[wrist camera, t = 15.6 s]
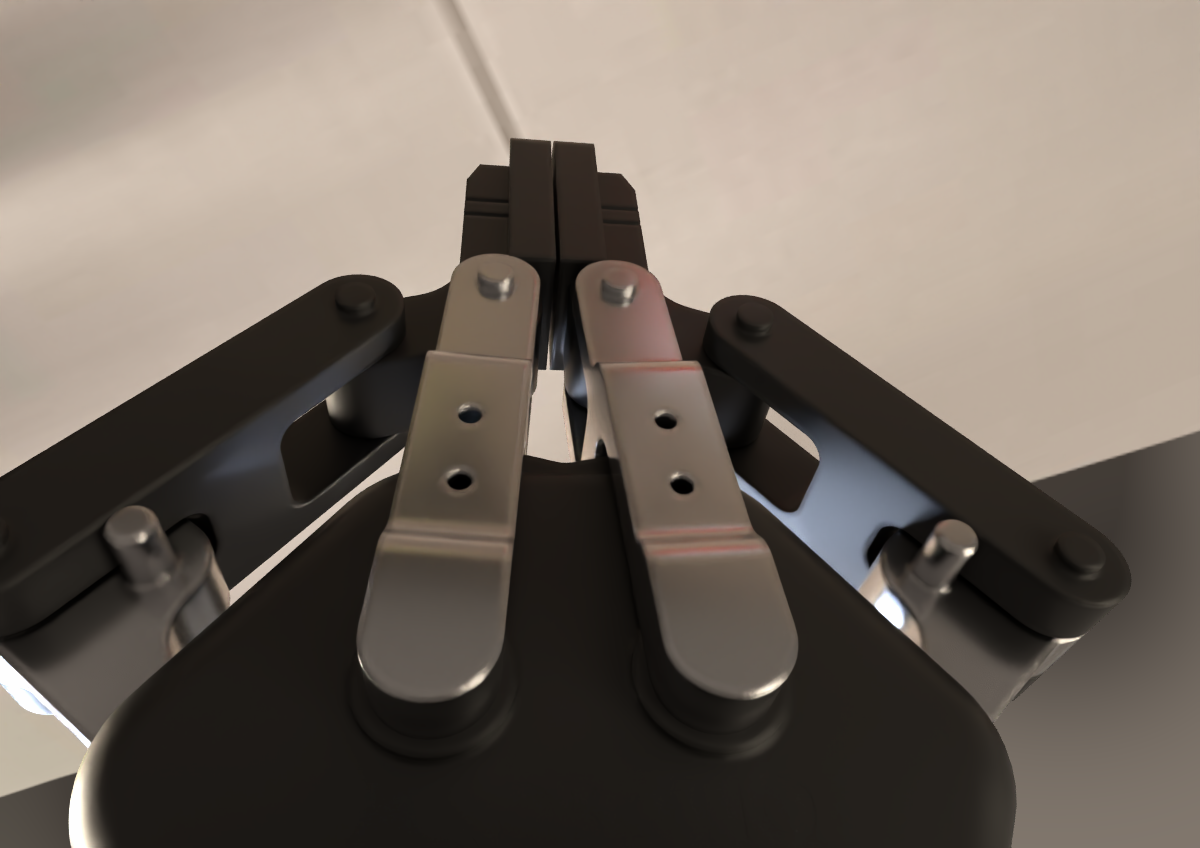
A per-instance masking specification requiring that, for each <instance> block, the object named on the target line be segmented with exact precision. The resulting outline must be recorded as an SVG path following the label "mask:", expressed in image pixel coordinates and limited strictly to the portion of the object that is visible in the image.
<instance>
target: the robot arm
mask: <svg viewBox="0 0 1200 848" xmlns="http://www.w3.org/2000/svg"><path fill="white" fill-rule="evenodd" d="M548 343H549V354H550V370H564V389H563V398H562V410H563V417H564V424H565V430H566V437H567V444H568V451H569V457H570V463H560V462H555V461H550V460H546V459H542V458H537V457H533V456H528V455H527V446H528V435H529V425H530V414H531V403H532V395H533V393H534V392H535V389H536V386H537V375H538V370H546V366H547V354H548ZM324 399H325V400H324ZM323 400H324V401H323ZM321 401H323V402H321ZM320 402H321V403H320ZM319 403H320V404H319ZM317 404H318V405H317ZM316 405H317V406H316ZM314 406H316V407H314ZM313 407H314V408H313ZM769 407H771V408H773V409H774V410H775V411H776V412H778V413H779V414H780V415H781V416H783V417H784V418H785V419H787V420H788V421H789V422H790V423H792V424H793V425H794V426H796V427H797V428H798V429H799V430H801V431H802V432H803V433H805V434H806V435H807V436H808V437H809V438H810V439H811V440H812V441H813V443H814V444H815V446H816V447H817V450H818V452H819V457H820V461H818V460H817V459H816V458H815V457H813V456H812V455H811V454H810V453H808V452H807V451H806V450H804V449H803V448H802V447H801V446H799V445H798V444H797V443H796V442H794V441H793V440H792V439H791V438H789V437H788V436H787V435H786V434H784V433H783V432H782V431H781V430H779V429H778V428H777V427H775V426H774V425H773V424H772V423H770V422H769V421H768V420H767V419H765V418H766V415H767V413H768V410H769ZM312 408H313V409H312ZM310 409H311V410H310ZM309 410H310V411H309ZM307 411H309V412H307ZM306 412H307V413H306ZM305 413H306V414H305ZM303 414H304V415H303ZM302 415H303V416H302ZM300 416H302V417H300ZM299 417H300V418H299ZM298 418H299V419H298ZM296 419H297V420H296ZM295 420H296V421H295ZM404 447H405V449H404V454H403V458H402V463H401V467H400V471H399V473H397V474H395V475H392V476H390V477H387V478H385V479H383V480H381V481H379V482H377V483H375V484H373V485H371V486H370V487H368V488H366V489H365V490H363V491H362V492H361V493H359V494H358V495H356V496H355V497H354V498H352V499H351V500H350V501H349V502H348V503H346V504H345V505H344V506H343V507H342V508H341V509H340V510H338V511H337V512H336V513H335V514H334V515H333V516H332V517H331V518H329V519H328V520H327V521H326V522H325V523H324V524H323V525H322V526H320V527H319V528H318V529H317V530H316V531H315V532H314V533H313V534H311V535H310V536H309V537H308V538H307V539H306V540H305V541H303V542H302V543H301V544H300V545H299V546H298V547H297V548H296V549H294V550H293V551H292V552H291V553H290V554H289V555H288V556H287V557H285V558H284V559H283V560H282V561H281V562H280V563H279V564H278V565H276V566H275V567H274V568H273V569H272V570H271V571H270V572H268V573H267V574H266V575H265V576H264V577H263V578H262V579H261V580H259V581H258V582H257V583H256V584H255V585H254V586H253V587H252V588H250V589H249V590H248V591H247V592H246V593H245V594H244V595H242V596H241V597H240V598H239V599H238V600H237V601H236V602H235V603H233V604H232V605H231V606H230V593H229V591H230V590H231V589H232V588H233V587H234V586H236V585H237V584H238V583H239V582H241V581H242V580H243V579H244V578H245V577H247V576H248V575H249V574H250V573H252V572H253V571H254V570H255V569H256V568H258V567H259V566H260V565H261V564H262V563H264V562H265V561H266V560H267V559H269V558H270V557H271V556H272V555H273V554H275V553H276V552H277V551H278V550H280V549H281V548H282V547H283V546H284V545H286V544H287V543H288V542H289V541H291V540H292V539H293V538H294V537H295V536H297V535H298V534H299V533H300V532H302V531H303V530H304V529H305V528H306V527H308V526H309V525H310V524H311V523H312V522H314V521H315V520H316V519H317V518H319V517H320V516H321V515H322V514H323V513H325V512H326V511H327V510H328V509H330V508H331V507H332V506H333V505H334V504H336V503H337V502H338V501H339V500H341V499H342V498H343V497H344V496H345V495H347V494H348V493H349V492H350V491H352V490H353V489H354V488H355V487H356V486H358V485H359V484H360V483H361V482H362V481H364V480H365V479H366V478H367V477H369V476H370V475H371V474H372V473H373V472H375V471H376V470H377V469H378V468H380V467H381V466H382V465H383V464H384V463H386V462H387V461H388V460H389V459H391V458H392V457H393V456H394V455H395V454H397V453H398V452H399V451H400V450H401V449H403V448H404ZM1130 587H1131V573H1130V570H1129V567H1128V564H1127V562H1126V560H1125V558H1124V557H1123V555H1122V554H1121V552H1120V551H1119V550H1118V548H1117V547H1116V546H1115V545H1114V544H1113V543H1112V542H1111V541H1110V540H1109V539H1108V538H1107V537H1106V536H1105V535H1103V534H1102V533H1101V532H1099V531H1098V530H1097V529H1095V528H1094V527H1092V526H1091V525H1090V524H1088V523H1087V522H1085V521H1084V520H1083V519H1081V518H1080V517H1078V516H1077V515H1075V514H1074V513H1072V512H1071V511H1070V510H1068V509H1067V508H1065V507H1064V506H1063V505H1061V504H1060V503H1058V502H1057V501H1056V500H1054V499H1053V498H1051V497H1050V496H1048V495H1047V494H1046V493H1044V492H1042V491H1041V490H1040V489H1038V488H1037V487H1036V486H1034V485H1033V484H1031V483H1030V482H1029V481H1027V480H1026V479H1024V478H1023V477H1021V476H1020V475H1019V474H1017V473H1016V472H1014V471H1013V470H1012V469H1010V468H1009V467H1007V466H1006V465H1004V464H1003V463H1002V462H1000V461H999V460H997V459H996V458H994V457H993V456H992V455H990V454H989V453H987V452H986V451H985V450H983V449H982V448H980V447H979V446H977V445H976V444H975V443H973V442H972V441H970V440H969V439H968V438H966V437H965V436H963V435H962V434H960V433H959V432H958V431H956V430H955V429H953V428H952V427H950V426H949V425H948V424H946V423H945V422H943V421H942V420H941V419H939V418H938V417H936V416H935V415H933V414H932V413H931V412H929V411H928V410H926V409H925V408H923V407H922V406H921V405H919V404H918V403H916V402H915V401H914V400H912V399H911V398H909V397H908V396H906V395H905V394H904V393H902V392H901V391H899V390H898V389H897V388H895V387H894V386H892V385H891V384H889V383H888V382H887V381H885V380H884V379H882V378H881V377H879V376H878V375H877V374H875V373H874V372H872V371H871V370H870V369H868V368H867V367H865V366H864V365H862V364H861V363H860V362H858V361H857V360H855V359H854V358H853V357H851V356H850V355H848V354H847V353H845V352H844V351H843V350H841V349H840V348H838V347H837V346H835V345H834V344H833V343H831V342H830V341H828V340H827V339H826V338H824V337H823V336H821V335H820V334H818V333H817V332H816V331H814V330H813V329H811V328H810V327H808V326H807V325H806V324H804V323H803V322H801V321H800V320H799V319H797V318H796V317H794V316H793V315H791V314H790V313H789V312H787V311H786V310H784V309H783V308H782V307H780V306H778V305H777V304H775V303H773V302H771V301H769V300H766V299H763V298H760V297H756V296H749V295H736V296H730V297H726V298H724V299H721V300H720V301H718V302H717V303H716V304H715V305H714V306H713V307H712V309H711V311H710V313H707V312H703V311H699V310H696V309H692V308H689V307H686V306H683V305H680V304H678V303H675V302H673V301H672V300H670V299H668V298H667V297H665V296H664V295H663V291H662V288H661V285H660V283H659V281H658V280H657V278H656V277H655V276H654V275H653V274H652V273H651V272H649V271H648V266H647V260H646V254H645V248H644V242H643V236H642V230H641V225H640V218H639V212H638V206H637V200H636V193H635V190H634V189H633V187H632V186H631V185H630V184H629V183H628V181H627V180H626V179H625V178H624V177H623V176H622V174H616V173H601V172H597V165H596V156H595V147H594V144H588V143H574V142H560V141H554V143H553V150H552V157H551V141H545V140H531V139H517V138H511V139H510V164H509V166H496V165H481V164H480V165H479V166H478V167H477V169H476V170H475V171H474V172H473V173H472V174H471V175H470V177H469V178H468V179H467V185H466V197H465V209H464V221H463V233H462V245H461V257H460V264H459V265H458V266H457V267H456V268H455V270H454V271H453V274H452V277H451V281H450V282H449V283H448V284H446V285H445V286H443V287H442V288H439V289H437V290H435V291H432V292H429V293H426V294H421V295H416V296H410V297H405V298H403V296H402V294H401V292H400V290H399V289H398V288H397V287H396V286H395V285H393V284H392V283H390V282H389V281H387V280H384V279H382V278H379V277H375V276H370V275H361V274H360V275H346V276H341V277H337V278H334V279H331V280H328V281H326V282H325V283H323V284H321V285H319V286H318V287H316V288H314V289H313V290H311V291H309V292H308V293H306V294H304V295H303V296H301V297H299V298H298V299H296V300H294V301H293V302H291V303H289V304H288V305H286V306H284V307H283V308H281V309H279V310H278V311H276V312H274V313H273V314H271V315H269V316H268V317H266V318H264V319H263V320H261V321H259V322H258V323H256V324H254V325H253V326H251V327H249V328H248V329H246V330H244V331H243V332H241V333H239V334H238V335H236V336H234V337H233V338H231V339H229V340H228V341H226V342H224V343H223V344H221V345H219V346H218V347H216V348H214V349H213V350H211V351H209V352H208V353H206V354H204V355H203V356H201V357H199V358H198V359H196V360H194V361H193V362H191V363H189V364H188V365H186V366H184V367H183V368H181V369H179V370H178V371H176V372H175V373H173V374H171V375H170V376H168V377H166V378H165V379H163V380H161V381H160V382H158V383H156V384H155V385H153V386H151V387H150V388H148V389H146V390H145V391H143V392H141V393H140V394H138V395H136V396H135V397H133V398H131V399H130V400H128V401H126V402H125V403H123V404H121V405H120V406H118V407H116V408H115V409H113V410H111V411H110V412H108V413H106V414H105V415H103V416H101V417H100V418H98V419H96V420H95V421H93V422H91V423H90V424H88V425H86V426H85V427H83V428H81V429H80V430H78V431H76V432H75V433H73V434H71V435H70V436H68V437H66V438H65V439H63V440H61V441H60V442H58V443H56V444H55V445H53V446H51V447H50V448H48V449H46V450H45V451H43V452H41V453H40V454H38V455H36V456H35V457H33V458H31V459H30V460H28V461H26V462H25V463H23V464H21V465H20V466H18V467H16V468H15V469H13V470H11V471H10V472H8V473H6V474H5V475H3V476H1V477H0V684H1V685H2V686H3V687H4V688H5V689H6V691H7V692H8V693H9V694H10V695H11V696H12V697H13V698H14V699H15V701H16V702H17V703H19V704H20V705H21V706H22V707H23V708H25V709H27V710H29V711H31V712H34V713H39V714H54V715H55V716H56V717H57V718H58V719H59V720H60V721H61V722H62V723H63V724H64V725H65V726H66V727H67V728H69V729H70V730H71V731H72V732H73V733H74V734H75V735H76V736H77V737H78V738H79V739H80V740H81V741H82V742H83V743H84V744H85V745H86V746H87V747H88V750H87V752H86V754H85V756H84V758H83V760H82V763H81V765H80V767H79V770H78V773H77V776H76V779H75V783H74V787H73V791H72V796H71V801H70V810H69V834H70V835H69V836H70V842H71V848H1011V844H1012V836H1013V828H1014V822H1015V814H1016V786H1015V780H1014V775H1013V770H1012V766H1011V763H1010V760H1009V757H1008V754H1007V751H1006V748H1005V745H1004V743H1003V741H1002V739H1001V737H1000V735H999V733H998V731H997V729H996V728H995V726H994V724H993V723H994V721H995V720H996V719H997V718H998V717H999V715H1000V714H1001V713H1002V712H1003V710H1004V709H1005V708H1006V707H1007V706H1008V704H1009V703H1010V702H1011V701H1013V700H1015V699H1016V698H1017V697H1018V696H1019V695H1020V694H1021V693H1023V692H1024V691H1025V690H1026V689H1027V688H1028V687H1029V686H1030V685H1031V684H1032V683H1033V682H1034V681H1036V680H1037V679H1038V678H1039V677H1040V676H1041V675H1042V674H1043V673H1044V672H1045V671H1046V670H1047V669H1048V668H1050V667H1051V666H1052V665H1053V664H1054V663H1055V662H1056V661H1057V660H1058V659H1059V658H1060V657H1061V656H1062V655H1063V654H1064V653H1066V652H1067V651H1068V650H1069V649H1070V648H1071V647H1072V646H1073V645H1074V644H1075V643H1076V642H1077V641H1079V640H1080V639H1081V638H1082V637H1083V636H1084V635H1085V634H1086V633H1087V632H1088V631H1089V630H1090V629H1091V628H1092V627H1093V626H1095V625H1096V624H1097V623H1098V622H1099V621H1100V620H1101V619H1102V618H1103V617H1104V616H1105V615H1106V614H1108V613H1109V612H1110V611H1111V610H1112V609H1113V608H1114V607H1115V606H1116V605H1117V604H1118V603H1119V602H1120V601H1121V600H1123V599H1124V598H1125V596H1126V595H1127V594H1128V592H1129V590H1130Z"/></svg>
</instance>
